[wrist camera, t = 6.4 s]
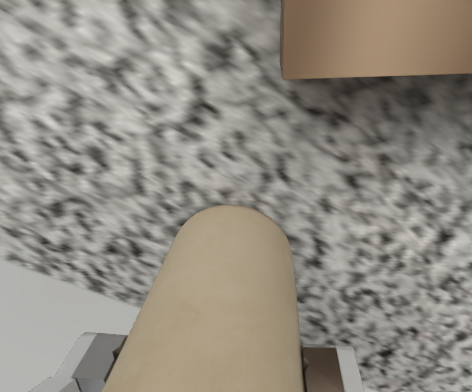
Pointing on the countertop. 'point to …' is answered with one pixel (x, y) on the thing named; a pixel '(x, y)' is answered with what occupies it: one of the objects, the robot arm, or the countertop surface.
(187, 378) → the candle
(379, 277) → the countertop surface
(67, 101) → the countertop surface
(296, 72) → the walnut stand
